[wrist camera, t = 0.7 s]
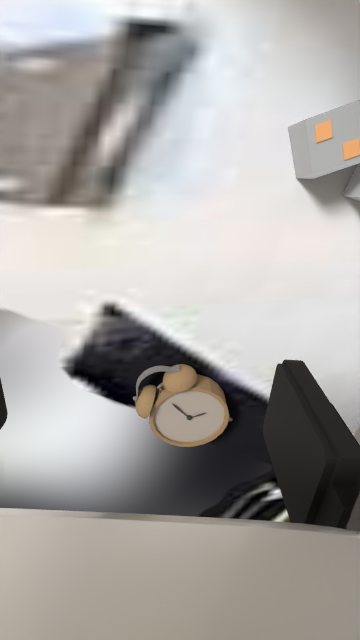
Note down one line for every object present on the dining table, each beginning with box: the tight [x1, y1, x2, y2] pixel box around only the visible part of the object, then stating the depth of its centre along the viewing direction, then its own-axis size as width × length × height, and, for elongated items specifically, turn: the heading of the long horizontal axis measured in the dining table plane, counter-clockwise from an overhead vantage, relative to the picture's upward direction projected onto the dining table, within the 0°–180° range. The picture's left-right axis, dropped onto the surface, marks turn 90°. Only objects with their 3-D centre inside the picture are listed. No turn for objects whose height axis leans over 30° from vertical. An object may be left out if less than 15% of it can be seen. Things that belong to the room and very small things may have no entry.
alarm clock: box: [133, 364, 232, 447], centre depth 45 cm, size 11×5×15 cm
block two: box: [288, 100, 360, 179], centre depth 31 cm, size 5×5×5 cm
